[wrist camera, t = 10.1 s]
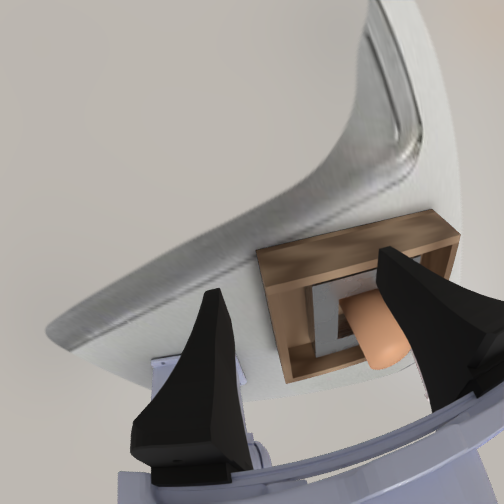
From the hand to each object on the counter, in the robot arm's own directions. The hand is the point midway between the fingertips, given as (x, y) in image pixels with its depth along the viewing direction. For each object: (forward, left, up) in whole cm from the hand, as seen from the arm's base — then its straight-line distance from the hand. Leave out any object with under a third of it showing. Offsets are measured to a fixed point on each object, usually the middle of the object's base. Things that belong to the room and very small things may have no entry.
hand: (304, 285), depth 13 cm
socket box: (+7, -12, -10) cm, 17 cm away
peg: (+7, -12, -10) cm, 17 cm away
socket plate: (+7, -12, -10) cm, 17 cm away
